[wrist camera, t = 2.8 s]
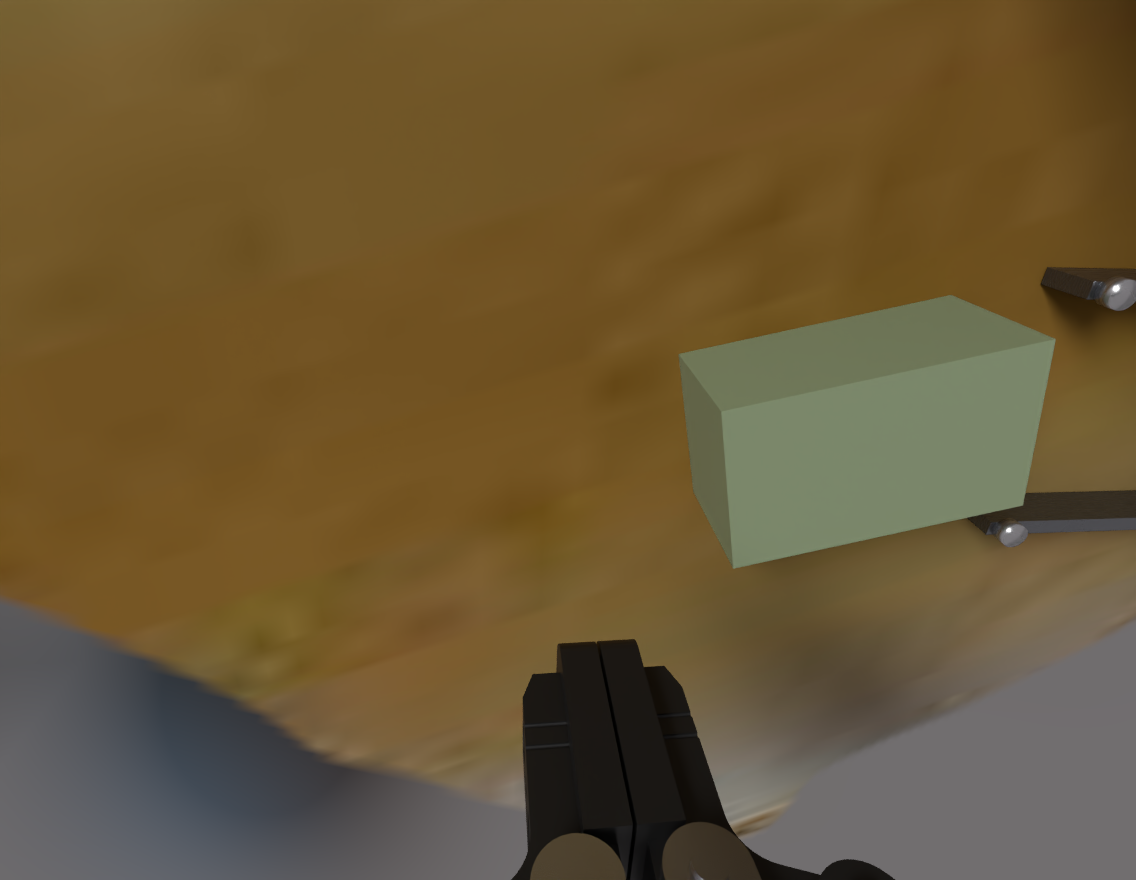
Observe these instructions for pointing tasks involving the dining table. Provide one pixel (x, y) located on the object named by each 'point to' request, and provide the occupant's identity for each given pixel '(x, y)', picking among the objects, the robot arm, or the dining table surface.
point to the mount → (1072, 507)
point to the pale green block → (863, 426)
